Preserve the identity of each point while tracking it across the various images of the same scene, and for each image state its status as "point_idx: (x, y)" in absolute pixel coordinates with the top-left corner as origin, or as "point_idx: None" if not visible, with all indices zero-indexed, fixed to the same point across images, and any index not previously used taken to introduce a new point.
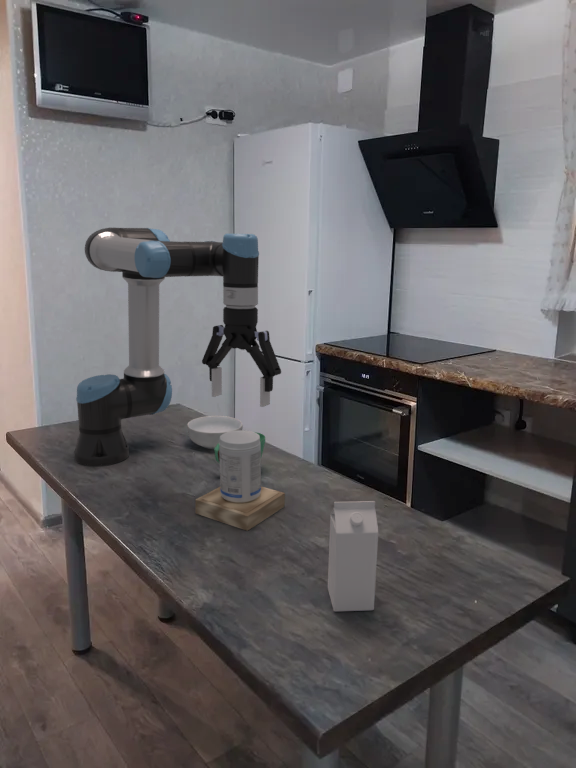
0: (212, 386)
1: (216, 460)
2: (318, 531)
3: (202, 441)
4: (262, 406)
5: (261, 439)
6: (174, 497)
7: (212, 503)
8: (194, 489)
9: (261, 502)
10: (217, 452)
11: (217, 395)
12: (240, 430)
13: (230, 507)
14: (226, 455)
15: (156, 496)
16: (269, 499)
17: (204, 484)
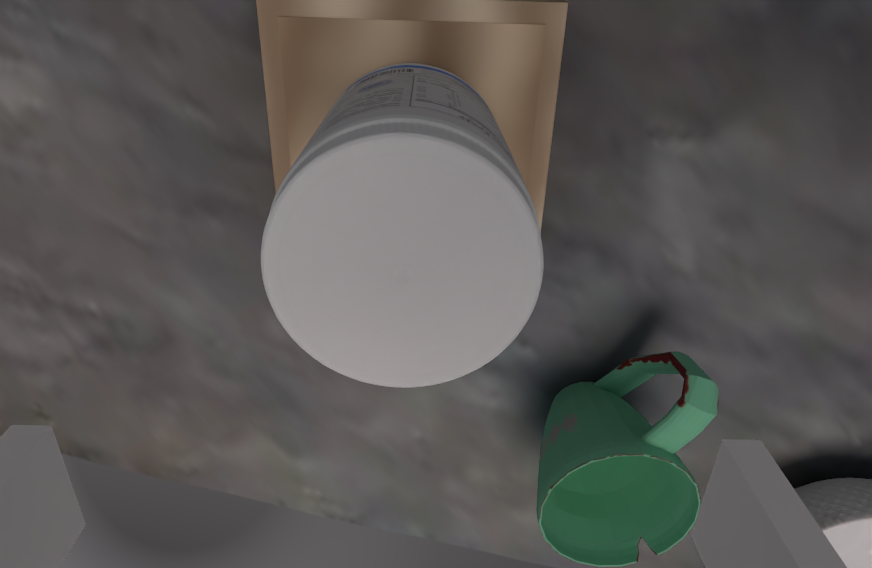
0: (817, 544)
1: (685, 355)
2: (66, 145)
3: (848, 486)
4: (12, 427)
5: (576, 540)
6: (725, 78)
7: (472, 14)
8: (685, 187)
9: (294, 143)
10: (689, 372)
11: (710, 486)
12: (473, 367)
13: (372, 21)
14: (412, 106)
15: (807, 40)
16: None
17: (672, 244)
